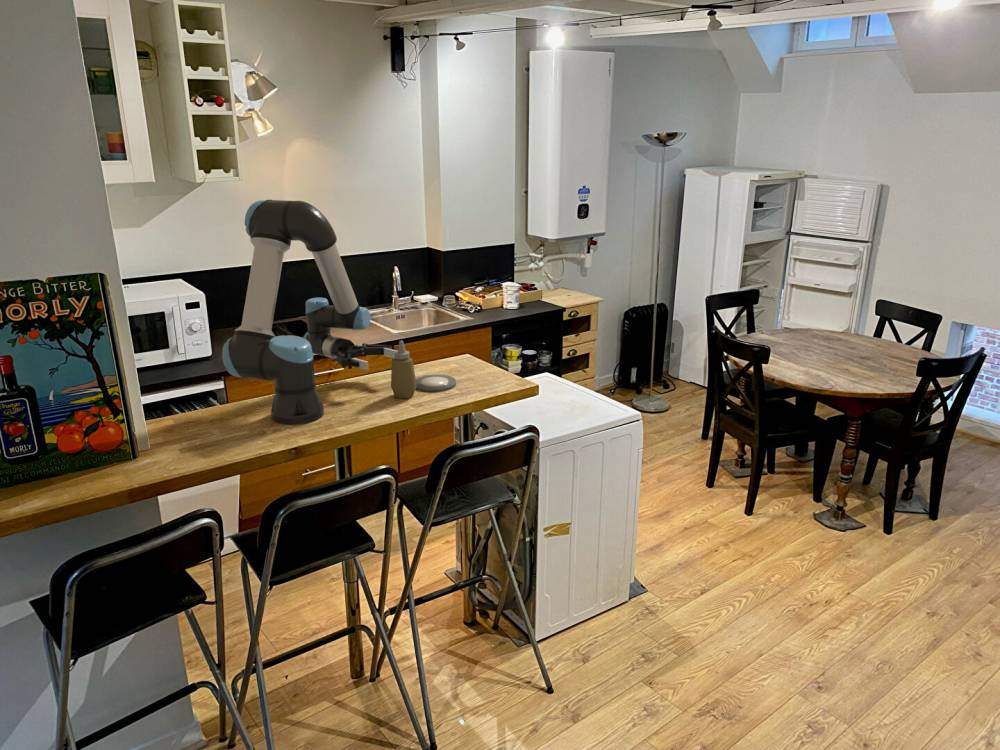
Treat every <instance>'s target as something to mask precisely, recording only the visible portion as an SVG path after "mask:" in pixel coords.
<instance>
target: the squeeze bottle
mask: <svg viewBox="0 0 1000 750" xmlns="http://www.w3.org/2000/svg"><path fill="white" fill-rule="evenodd" d="M394 355H395V358H394V359H393V358H392V360H391V372H390V373H391V374H390V387H391V390H392V392H393V395H394V397H396V398H397V399H409V398H412V397H414V394H415V392H416V379H417V378H416V373H415V367H414V361H413V360H414V359H412V358H411V357H410V351H409V350H406V346H405V344H404V341H403V340H399V341H398V347H397V350H396V352H395V353H394Z"/></svg>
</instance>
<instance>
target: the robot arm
mask: <svg viewBox="0 0 1000 750" xmlns="http://www.w3.org/2000/svg"><path fill="white" fill-rule="evenodd" d="M244 226H245V233H246V234H247V235H248V237H250V239H249V241H250V243H251V244H252V246H253V247H254V248H253V254H252V259H251V267H250V272H249V276H248V277H249V279H248V285H247V289H246V296H245V302H244V307H243V313H242V319H241V320H242V321H241V325H239V326H238V327H237V328H236V329H235V330H234V335H233V336H232V337H230V338H228V339H227V340H226V342H224V344H223V346H222V351H221V352H222V353H221V354H222V363H223V366H224V367H225V369H226V371H227V372H228V373H229V375H231V376H232V377H233V376H234V377H237V378H242V379H247V380H249V379H251V380H260V381H269V382H270V381H272V382H273V386H274V396H273V400H272V404H271V410H270V416H271V421H273V422H274V423H276V424H279V425H285V426H286V425H290V426H291V425H293V426H294V425H303V424H304V425H305V424H308V423H311V422H313V421H314V422H315V421H317V420H319V419H320V418H322V417H323V416H324V414H325V406H324V404H323V402H322V400H321V397H320V395H319V393H318V390H317V388H316V376H315V365H314V355H319V356H322V357H323V356H324V357H327V358H330V359H332V360H334V361H336V362H337V363H338V364H339V365H340V366H341V367H342V368H344V369H345V368H347V369H349V370H351V369H353V368H357V369H361V370H364V371H370V370H369V368H370V367H369V361H367V360H363V359H359V358H361V357H363V358H365V357H367V356H384V357H387V358H391V359H392V360H393V359H394V358H395V355H394V353H395V352H396V351H397V349H396V350H395V349H392V348H390V345H388V344H371V343H365V342H363V343H362V344H361V345H358V344H355V343H354V341H352V340H351V339H347V338H343V337H341V336H335V335H332V333H331V329H340V330H342V329H343V330H344V329H345V330H353V331H364V330H366V329H368V327H369V325H370V323H371V312H370V310H369V309H368V308H367V307H363V306H360V305H359V302H358V301H357V300H358V299H357V298H356V294H355V291H354V290H353V287H352V284H351V282H350V279H349V276H348V274H347V271H346V268H345V266H344V263H343V261H342V258H341V255H340V253H339V249H338V248H337V245H336V243H337V242H338V239H337V235H336V233H335V229H334V228H333V227H332V224H331V223H330V221H329V220H328V219H327V217H326V216H325V215H324V214H323V213H322V212H321V211H320V210H319V209H318V208H316V206H315V205H312V204H311V203H309V202H306V201H303V200H285V199H283V200H279V199H277V200H276V199H265V200H264V199H260V200H255V201H254V202H253V203H251V204H250V206H249V207H248V209H247V210H246V213H245V217H244ZM292 241H300V242H302V243H303V244H304V246H305V247H306V250H307V251H308V252H310V253H311V254H312V256H313V258H314V261H315V263H316V266H317V268H318V269H319V270H318V271H319V272H320V275H321V278H322V281H323V282H324V285H325V287H326V289H327V291H328V295H329V296H330V297H329V298H330V299H331V301H332V303H333V305H330V304H329V300H328V299H327V298H326V297H312V298H309V299H307V300H306V301H305V315H306V316H305V317H306V325H307V332H306V333H305V334H304V335H303V336H302V337H301V336H297V335H293V334H290V335H277V336H276V335H275V333H274V332H273V330H272V329H273V322H274V315H275V309H276V304H277V297H278V291H279V286H280V280H281V273H282V267H283V261H284V254H285V253H286V252H288V251H289V250H290V249H291V245H292Z"/></svg>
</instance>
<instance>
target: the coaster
mask: <svg viewBox="0 0 1000 750" xmlns="http://www.w3.org/2000/svg"><path fill="white" fill-rule="evenodd" d="M415 379H416V388H415V390H418V391H422V392H428V393H430V392H431V393H436V392H437V393H438V392H444V391H449V390H451V389H453V388H455V387H456V386H457V380H456V378H455V377H454V376H451V375H445V374H429V375H422V376H419V377H417V378H415Z"/></svg>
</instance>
